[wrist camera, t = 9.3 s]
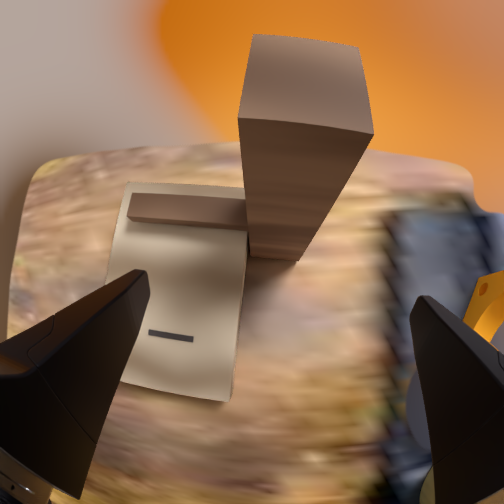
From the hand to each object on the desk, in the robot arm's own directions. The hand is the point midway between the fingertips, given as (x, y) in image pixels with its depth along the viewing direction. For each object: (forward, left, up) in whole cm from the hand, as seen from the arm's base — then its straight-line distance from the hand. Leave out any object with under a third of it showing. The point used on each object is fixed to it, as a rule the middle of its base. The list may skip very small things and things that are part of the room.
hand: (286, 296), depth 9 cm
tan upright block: (+4, +6, -13) cm, 15 cm away
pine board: (-1, +7, -13) cm, 15 cm away
